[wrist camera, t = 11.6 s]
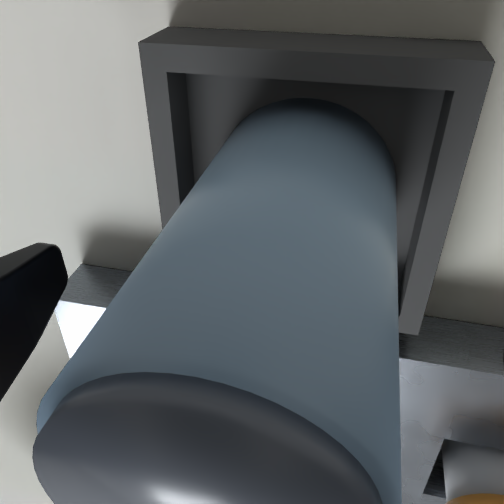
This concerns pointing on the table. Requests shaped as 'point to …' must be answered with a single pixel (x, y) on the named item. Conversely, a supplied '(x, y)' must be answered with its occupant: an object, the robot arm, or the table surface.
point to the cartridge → (248, 335)
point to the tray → (334, 90)
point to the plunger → (472, 473)
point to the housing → (410, 373)
